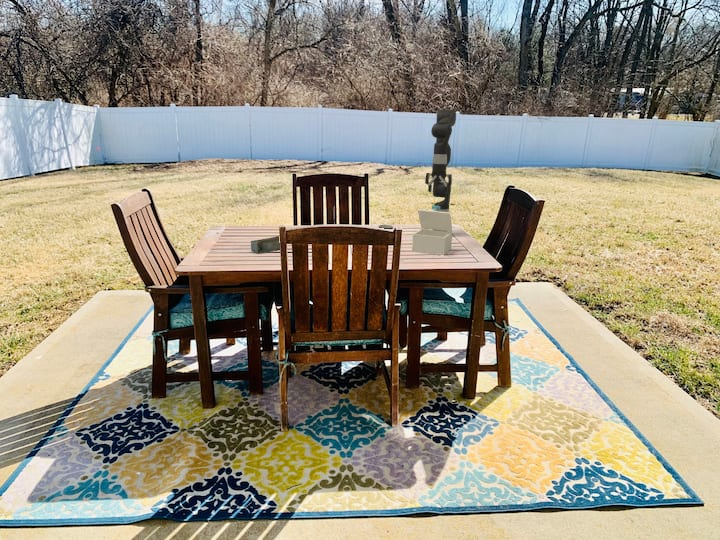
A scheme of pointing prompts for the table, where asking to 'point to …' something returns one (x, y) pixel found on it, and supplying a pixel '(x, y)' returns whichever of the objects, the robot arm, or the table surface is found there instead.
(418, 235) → the box
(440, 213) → the lid
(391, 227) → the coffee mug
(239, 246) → the table surface
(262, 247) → the beverage carton
